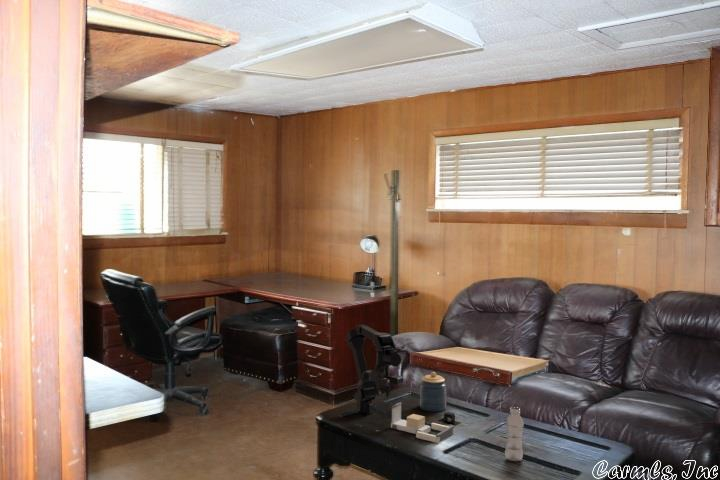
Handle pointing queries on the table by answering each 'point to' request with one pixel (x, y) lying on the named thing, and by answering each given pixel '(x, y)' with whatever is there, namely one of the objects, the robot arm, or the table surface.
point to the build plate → (449, 421)
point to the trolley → (408, 421)
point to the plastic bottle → (514, 435)
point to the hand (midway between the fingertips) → (382, 396)
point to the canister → (433, 393)
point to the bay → (439, 437)
